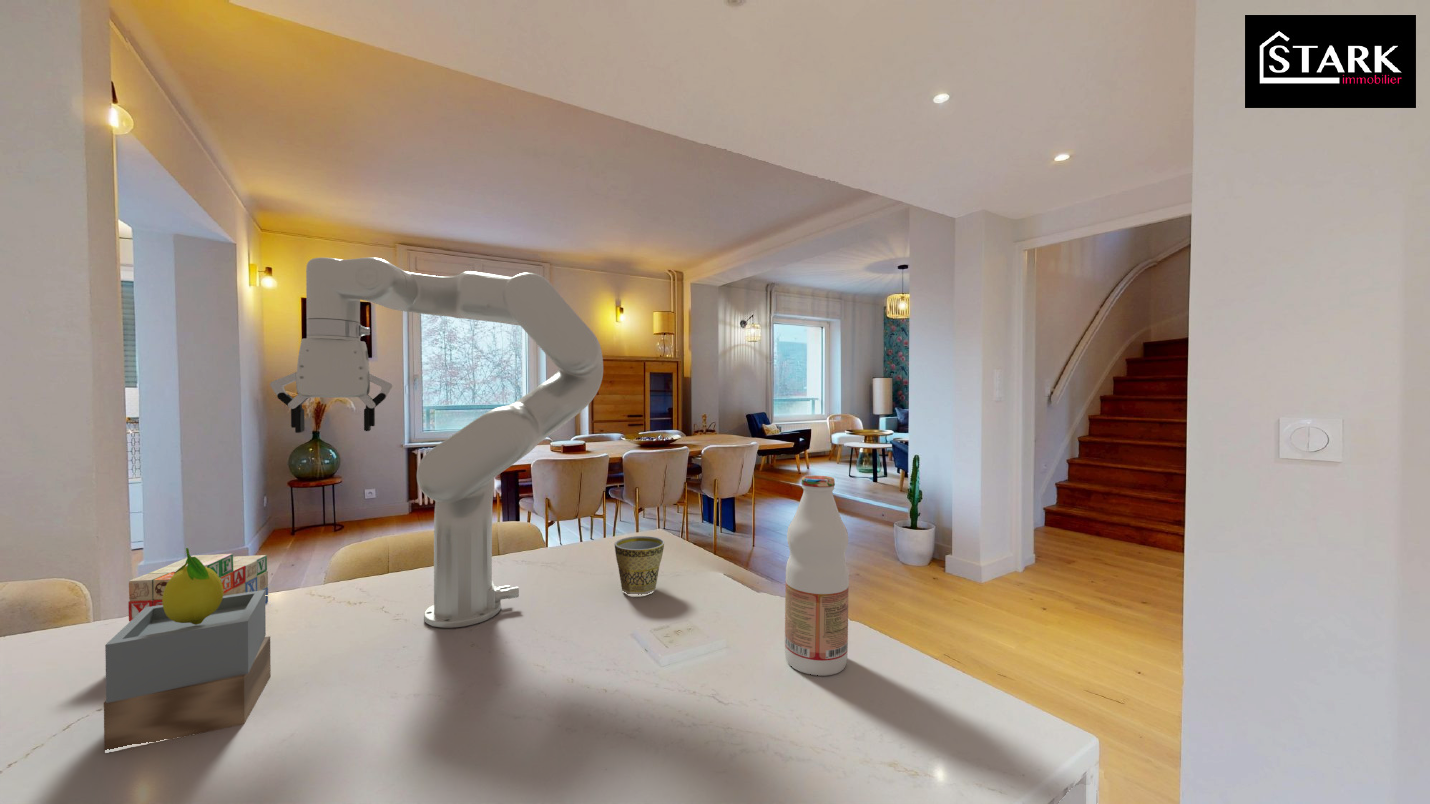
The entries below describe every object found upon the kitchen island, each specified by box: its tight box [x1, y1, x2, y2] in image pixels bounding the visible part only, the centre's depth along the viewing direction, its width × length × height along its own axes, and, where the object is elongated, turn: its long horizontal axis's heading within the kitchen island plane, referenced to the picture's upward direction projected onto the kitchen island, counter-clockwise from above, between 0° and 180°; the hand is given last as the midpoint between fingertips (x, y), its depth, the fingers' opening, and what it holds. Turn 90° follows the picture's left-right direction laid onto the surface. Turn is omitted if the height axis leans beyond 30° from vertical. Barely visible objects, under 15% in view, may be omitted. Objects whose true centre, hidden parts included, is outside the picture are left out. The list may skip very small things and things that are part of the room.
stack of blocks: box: [127, 553, 269, 623], centre depth 91 cm, size 21×6×12 cm, turn 10°
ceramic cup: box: [614, 535, 665, 595], centre depth 111 cm, size 13×10×10 cm
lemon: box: [162, 547, 224, 625], centre depth 67 cm, size 7×6×10 cm
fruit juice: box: [784, 474, 850, 677], centre depth 81 cm, size 9×9×28 cm
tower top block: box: [104, 590, 267, 703], centre depth 67 cm, size 12×12×6 cm
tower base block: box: [103, 635, 272, 750], centre depth 67 cm, size 12×12×6 cm
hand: (334, 431), depth 93 cm, fingers open, 9 cm apart
